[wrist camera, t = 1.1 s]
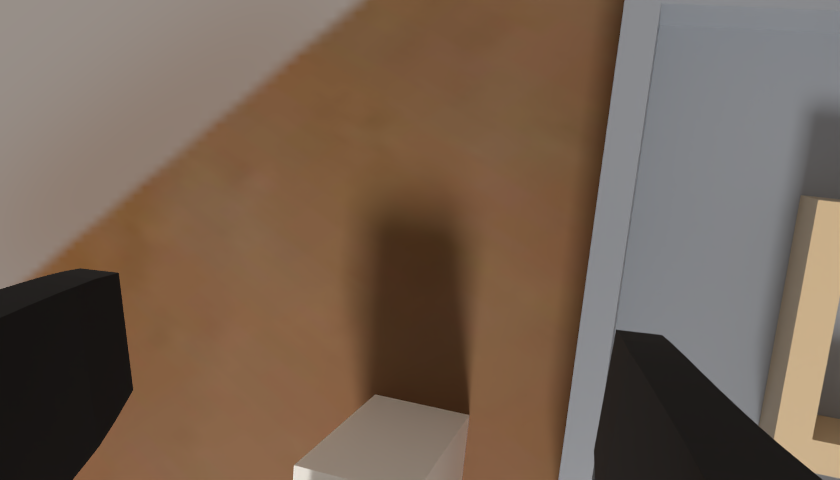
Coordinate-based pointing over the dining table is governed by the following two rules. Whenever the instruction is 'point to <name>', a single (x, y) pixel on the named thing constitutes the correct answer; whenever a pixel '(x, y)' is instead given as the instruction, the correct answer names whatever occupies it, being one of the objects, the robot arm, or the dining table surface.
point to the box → (722, 215)
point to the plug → (390, 444)
